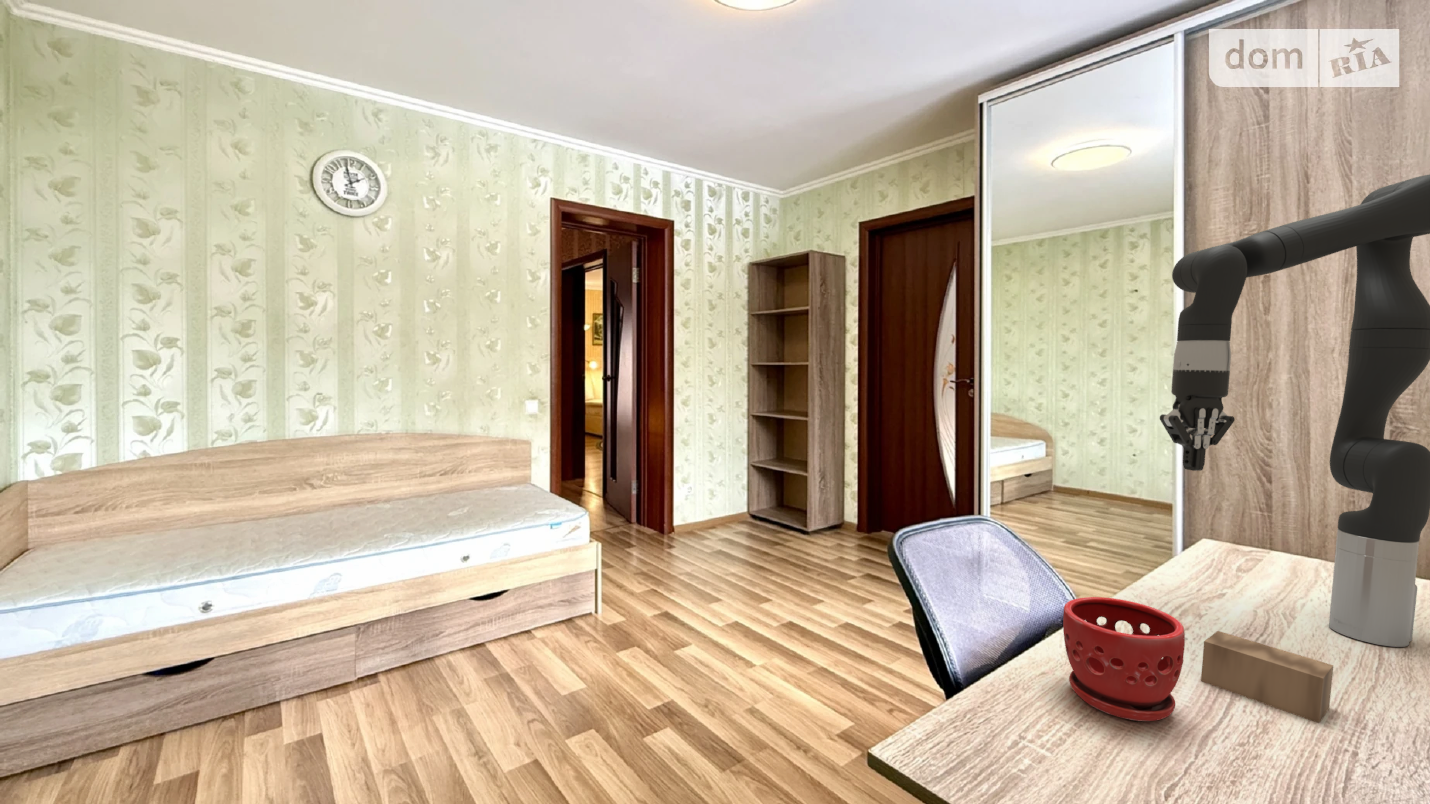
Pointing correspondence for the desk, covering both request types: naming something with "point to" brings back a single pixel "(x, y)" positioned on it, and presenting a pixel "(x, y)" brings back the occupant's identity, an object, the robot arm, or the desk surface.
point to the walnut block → (1268, 675)
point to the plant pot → (1123, 657)
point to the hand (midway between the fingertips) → (1193, 469)
